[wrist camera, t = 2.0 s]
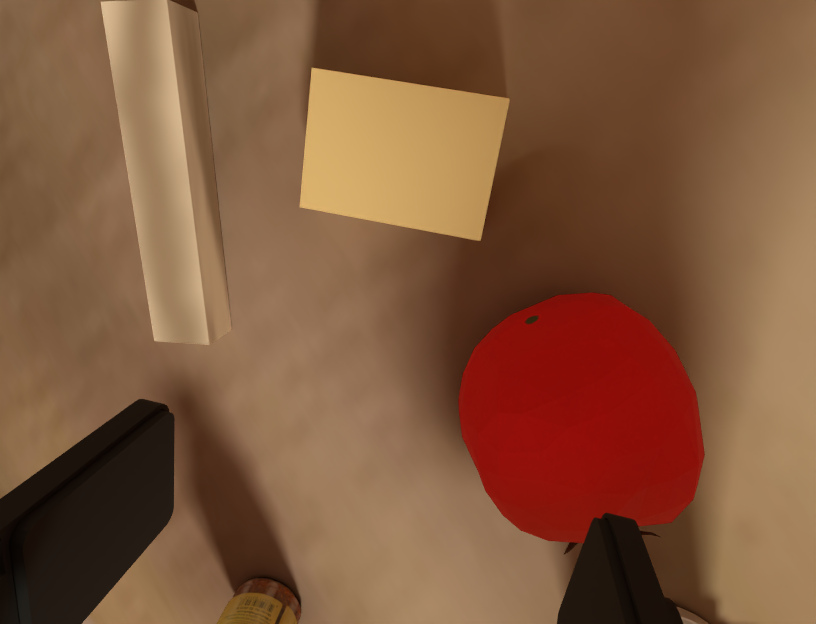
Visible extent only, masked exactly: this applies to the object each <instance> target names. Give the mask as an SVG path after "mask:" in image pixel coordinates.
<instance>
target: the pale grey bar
mask: <svg viewBox="0 0 816 624" xmlns="http://www.w3.org/2000/svg"><path fill="white" fill-rule="evenodd" d="M101 7H102V13H103V20H104V26H105V32H106V38H107V45H108V51H109V57H110V64H111V70H112V76H113V83H114V89H115V95H116V102H117V108H118V114H119V121H120V127H121V133H122V140H123V146H124V152H125V159H126V165H127V171H128V177H129V184H130V190H131V196H132V203H133V209H134V215H135V222H136V228H137V234H138V241H139V247H140V253H141V260H142V266H143V272H144V279H145V285H146V291H147V298H148V304H149V310H150V317H151V323H152V329H153V335H154V341H162V342H176V343H189V344H203V345H210V344H211V343H213V342H214V341H216V340H217V339H219V338H220V337H222V336H223V335H225V334H226V333H228V332H229V331H231V330H232V326H231V317H230V308H229V298H228V289H227V280H226V271H225V261H224V252H223V243H222V233H221V224H220V215H219V205H218V196H217V187H216V178H215V168H214V159H213V150H212V140H211V131H210V122H209V112H208V103H207V94H206V85H205V75H204V66H203V57H202V47H201V38H200V29H199V19H198V13H197V12H195V11H193V10H191V9H189V8H186V7H184V6H182V5H180V4H177V3H175V2H173V1H171V0H128V1H107V2H101Z"/></svg>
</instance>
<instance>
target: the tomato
mask: <svg viewBox="0 0 816 624" xmlns="http://www.w3.org/2000/svg"><path fill="white" fill-rule="evenodd" d="M458 404H459V415H460V423H461V431H462V438H463V440H464V442H465V444H466V446H467V448H468V451H469V453H470V455H471V457H472V459H473V461H474V464H475V466H476V468H477V470H478V472H479V475H480V478H481V480H482V483H483V486H484V488H485V491H486V492H487V494H488V495H489V496H490V498H491V499H492V501H493V502H494V504H495V505H496V506H497V508H498V509H499V511H500V512H501V514H502V515H503V516H504V517H506V518H507V519H508V520H509V521H510V522H511V523H513V524H514V525H515V526H516V527H517V528H519V529H520V530H521V531H523V532H526V533H529V534H532V535H534V536H537V537H540V538H542V539H545V540H548V541H560V542H570V543H569V545H568V547H567V549H566V551H565V553H564V554H566V553H568V552H569V551H570V550H571V549H572V548H573V547H574V546H575V545H576V544H577V543H584V541H585V538H586V535H587V533H588V530H589V527H590V524H591V522H592V520H593V518H595V517H596V518H600V519H601V518H602V516H603V514H604V513H611V514H615V515H619V516H623V517H627V518H631V519H634V520H635V521H636V523H637V525H638V526H647V525H656V524H665V523H671V522H672V521H673V520H674V519H675V518H676V517H677V516H678V515H679V514H680V513H681V512H682V511H683V510H684V509H685V508H686V507H687V506H688V505H689V504H690V502H691V501H692V500H693V498H694V495H695V492H696V488H697V485H698V480H699V476H700V472H701V468H702V463H703V459H704V455H705V454H704V447H703V439H702V432H701V424H700V417H699V409H698V402H697V397H696V392H695V390H694V388H693V386H692V384H691V382H690V379H689V377H688V375H687V373H686V371H685V369H684V367H683V365H682V363H681V361H680V359H679V357H678V355H677V353H676V351H675V350H674V348H673V347H672V346H671V345H670V344H669V343H668V341H667V340H666V339H665V338H664V337H663V336H662V334H661V333H660V332H659V331H658V330H657V329H656V328H655V326H654V325H653V324H652V323H651V322H650V321H649V320H648V319H647V318H645V317H643V316H642V315H640V314H638V313H637V312H635V311H634V310H632V309H630V308H629V307H627V306H626V305H625V304H623V303H622V302H620V301H619V300H617V299H616V298H614V297H613V296H611V295H606V294H599V293H580V294H566V295H557V296H554V297H552V298H550V299H547V300H545V301H542V302H540V303H538V304H535V305H533V306H531V307H528V308H526V309H523V310H521V311H519V312H516V313H514V314H512V315H510V316H509V317H507V318H506V319H505V320H503V321H502V322H501V323H499V324H498V325H497V326H495V327H494V328H493V329H492V330H491V331H490V332H489V333H488V334H487V335H486V336H485V337H484V338H483V339H482V340H481V341H480V343H479V344H478V345H477V346H476V347H475V348H474V350H473V352H472V354H471V357H470V359H469V361H468V363H467V366H466V368H465V370H464V372H463V376H462V382H461V388H460V393H459V399H458ZM640 533H641V535H654V536H658V535H656V534H654V533H651V532H644V531H640ZM658 537H660V536H658Z"/></svg>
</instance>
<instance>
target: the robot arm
mask: <svg viewBox="0 0 816 624" xmlns="http://www.w3.org/2000/svg"><path fill="white" fill-rule="evenodd" d="M173 508H174V415H173V414H172V413H170V412H169V408H168V406H167V405H165V404H161V403H157V402H153V401H149V400H145V399H139V400H137V401H135V402H134V403H133V404H131V405H130V406H128V407H127V408H126V409H124V410H123V411H121V412H120V413H119V414H117V415H116V416H115V417H113V418H112V419H110V420H109V421H108V422H106V423H105V424H103V425H102V426H101V427H99V428H98V429H97V430H95V431H94V432H92V433H91V434H90V435H88V436H87V437H85V438H84V439H83V440H81V441H80V442H79V443H77V444H76V445H74V446H73V447H72V448H70V449H69V450H67V451H66V452H65V453H63V454H62V455H61V456H59V457H58V458H56V459H55V460H54V461H52V462H51V463H49V464H48V465H47V466H45V467H44V468H43V469H41V470H40V471H38V472H37V473H36V474H34V475H33V476H31V477H30V478H29V479H27V480H26V481H25V482H23V483H22V484H20V485H19V486H18V487H16V488H15V489H13V490H12V491H11V492H9V493H8V494H7V495H5V496H4V497H2V498H1V499H0V624H82V623H83V621H84V620H85V619H86V618H87V617H88V616H89V615H90V613H91V612H92V611H93V610H94V609H95V608H96V606H97V605H98V604H99V603H100V602H101V601H102V599H103V598H104V597H105V596H106V595H107V594H108V592H109V591H110V590H111V589H112V588H113V587H114V585H115V584H116V583H117V582H118V581H119V580H120V578H121V577H122V576H123V575H124V574H125V573H126V571H127V570H128V569H129V568H130V567H131V566H132V564H133V563H134V562H135V561H136V560H137V559H138V557H139V556H140V555H141V554H142V553H143V552H144V551H145V549H146V548H147V547H148V546H149V545H150V544H151V542H152V541H153V540H154V539H155V538H156V537H157V535H158V534H159V533H160V532H161V531H162V530H163V528H164V527H165V526H166V525H167V523H168V522H169V520H170V518H171V516H172V513H173ZM557 624H709V623H707V622H706V621H704V620H703V619H701V618H700V617H698V616H697V615H695V614H693V613H691V612H689V611H687V610H684V609H682V608H680V607H676V605H675V603H674V602H673V601H672V600H671V599H669V598H665V597H664V596H663V593H662V590H661V588H660V585H659V582H658V579H657V577H656V574H655V571H654V568H653V566H652V563H651V560H650V557H649V555H648V552H647V549H646V546H645V544H644V541H643V538H642V536H641V533H640V530H639V527H638V525H637V523H636V521H635V520H634V519H631V518H627V517H623V516H619V515H615V514H611V513H604V514H603V516H602V518H601V519H600V518H596V517H595V518H593V520H592V522H591V524H590V527H589V530H588V533H587V535H586V538H585V541H584V544H583V546H582V549H581V552H580V555H579V557H578V560H577V563H576V565H575V568H574V571H573V574H572V576H571V579H570V582H569V585H568V587H567V590H566V593H565V596H564V598H563V601H562V604H561V607H560V610H559V613H558V620H557Z"/></svg>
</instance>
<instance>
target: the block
mask: <svg viewBox="0 0 816 624" xmlns="http://www.w3.org/2000/svg"><path fill="white" fill-rule="evenodd" d="M509 101H510V99H509V98H503V97H496V96H490V95H483V94H477V93H471V92H464V91H458V90H451V89H445V88H439V87H432V86H426V85H419V84H413V83H407V82H400V81H394V80H387V79H381V78H375V77H368V76H362V75H355V74H349V73H343V72H336V71H330V70H323V69H317V68H312V71H311V83H310V94H309V106H308V117H307V129H306V141H305V152H304V164H303V175H302V187H301V198H300V207H302V208H308V209H313V210H318V211H324V212H329V213H334V214H339V215H345V216H350V217H355V218H361V219H366V220H371V221H377V222H382V223H387V224H392V225H398V226H403V227H408V228H414V229H419V230H424V231H430V232H435V233H440V234H446V235H451V236H456V237H461V238H467V239H472V240H477V241H481V236H482V232H483V227H484V222H485V217H486V212H487V207H488V203H489V198H490V193H491V188H492V183H493V179H494V174H495V169H496V164H497V159H498V154H499V150H500V145H501V140H502V135H503V130H504V125H505V121H506V116H507V111H508V106H509Z"/></svg>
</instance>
